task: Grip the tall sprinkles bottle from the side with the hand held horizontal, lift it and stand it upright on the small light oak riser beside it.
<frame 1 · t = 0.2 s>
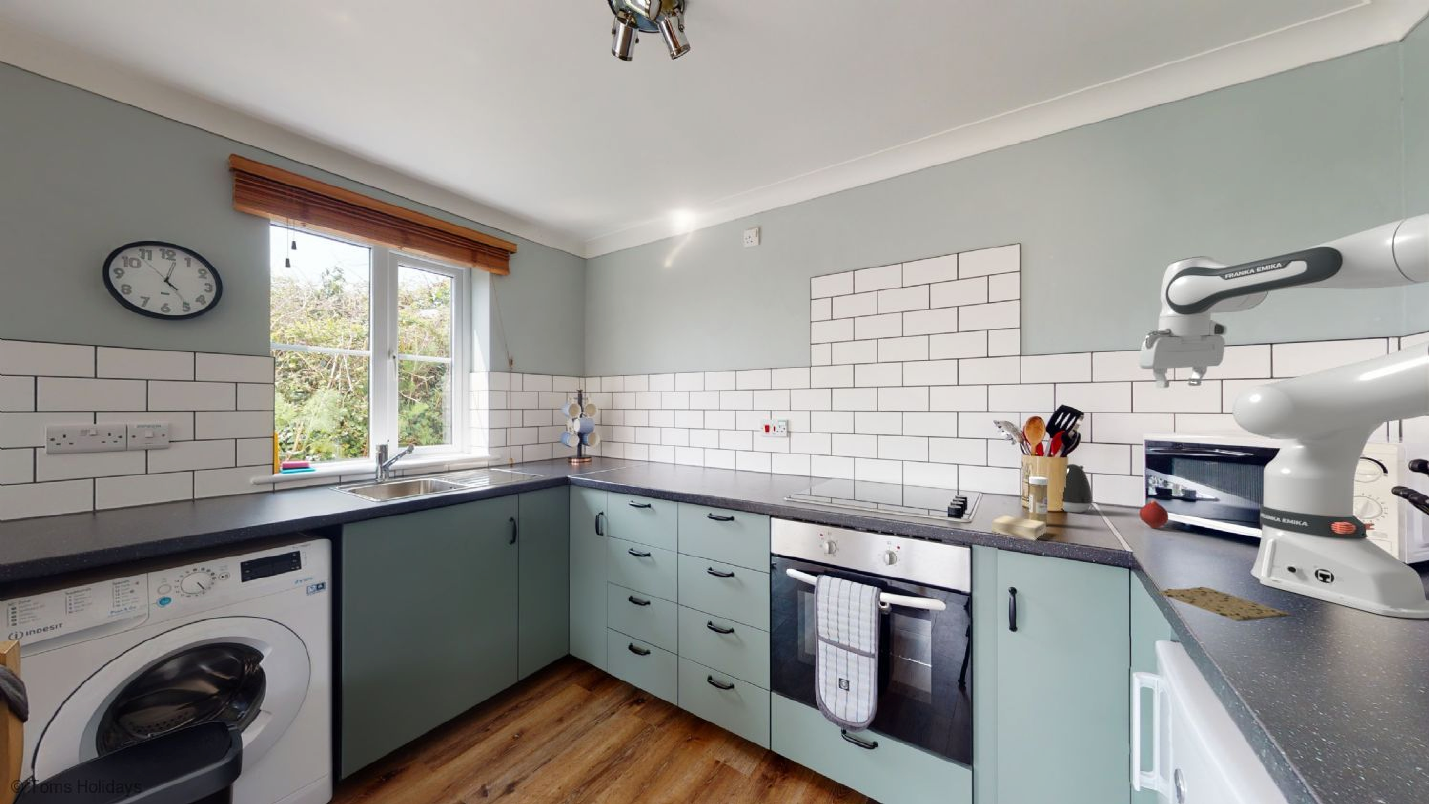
hand: (1178, 386, 117), 39 cm above the counter, tool pointing down, fingers open, 8 cm apart
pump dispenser: (1072, 511, 157), on the counter
oak riser: (1018, 532, 130), on the counter
sprinkles bottle: (1038, 524, 140), on the counter
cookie: (1221, 606, 85), on the counter
onion: (1153, 529, 136), on the counter
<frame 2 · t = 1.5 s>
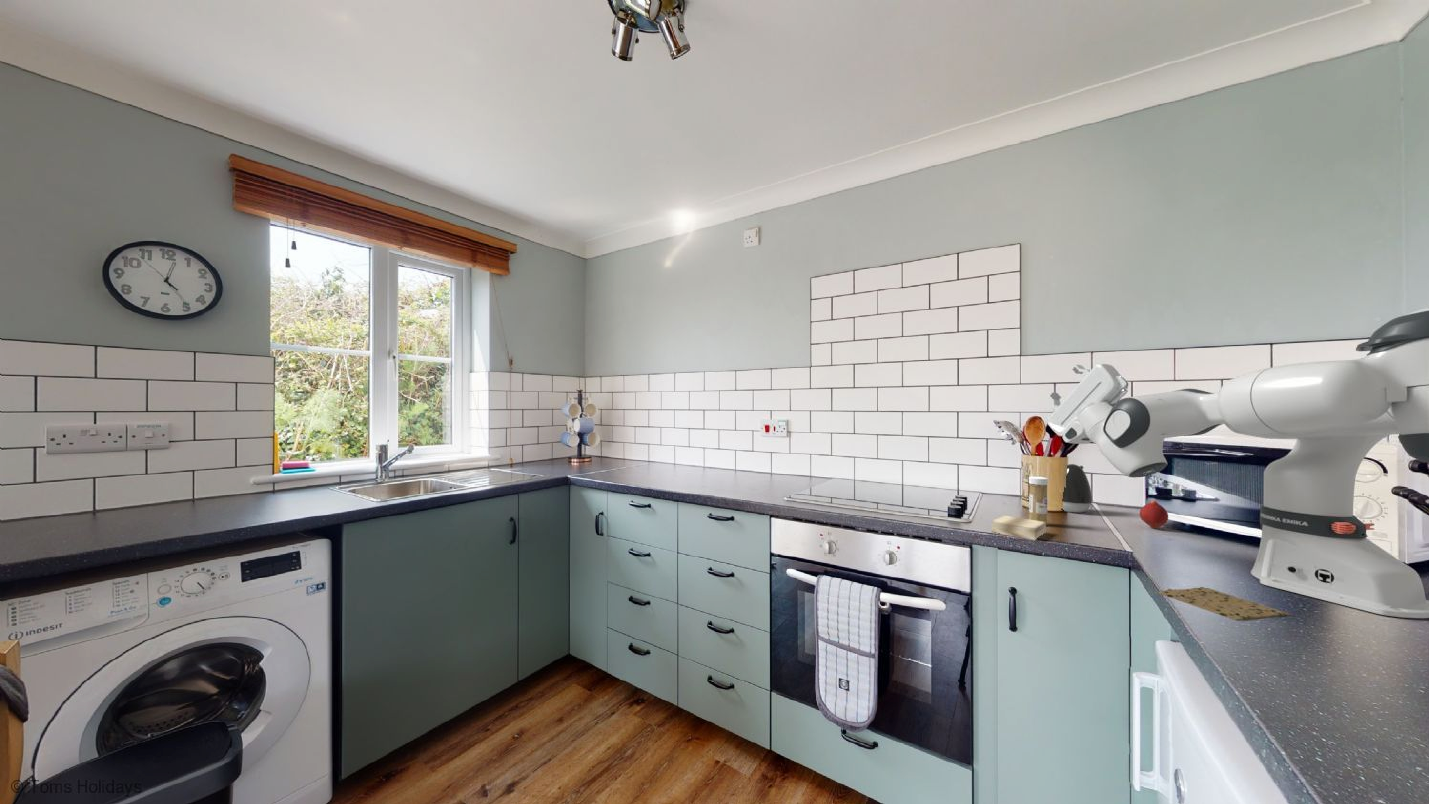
hand: (1064, 381, 126), 40 cm above the counter, tool pointing upward, fingers open, 8 cm apart
nothing on the counter moved.
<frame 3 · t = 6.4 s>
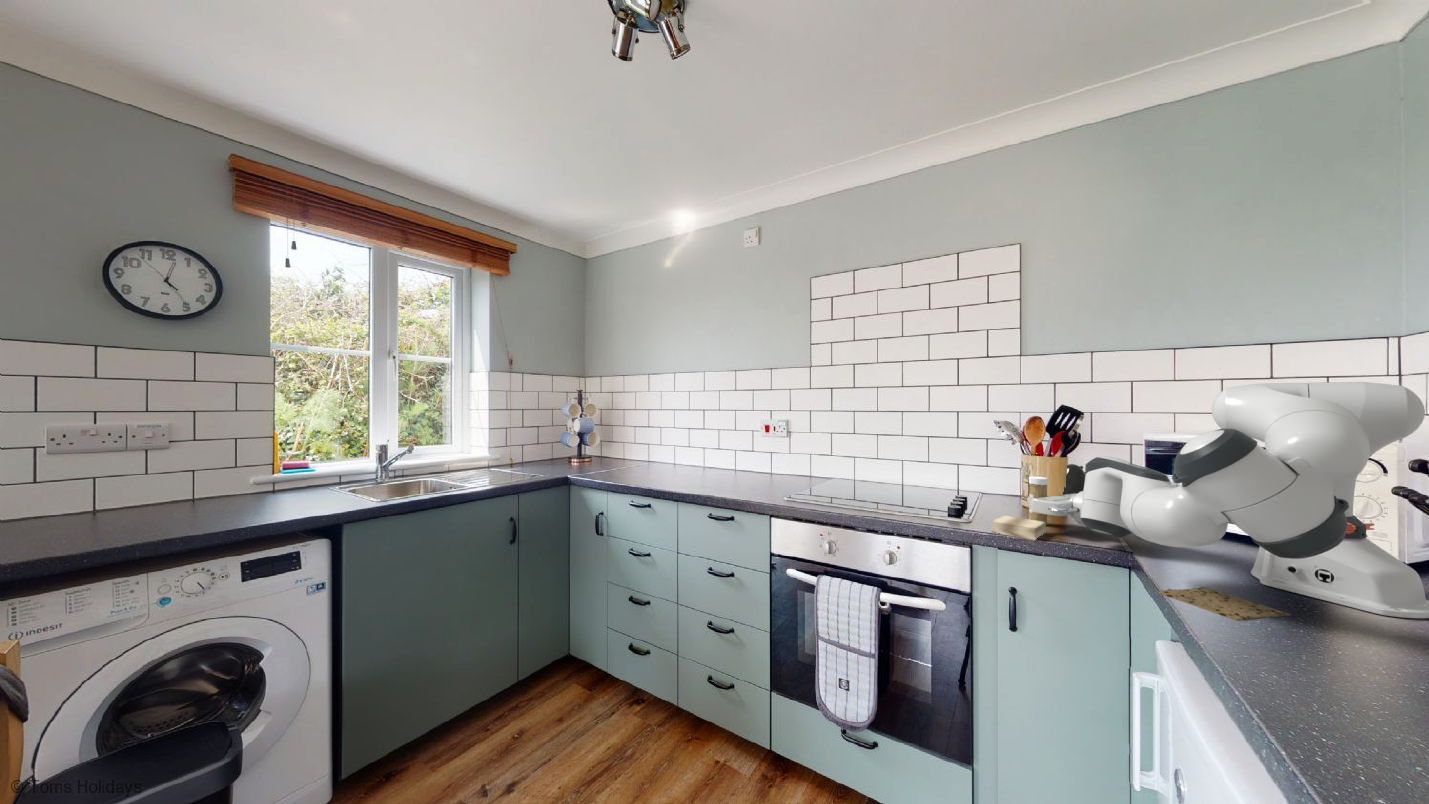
hand: (1035, 499, 140), 7 cm above the counter, tool horizontal, fingers closed on sprinkles bottle, 4 cm apart
sprinkles bottle: (1037, 524, 140), on the counter, touching gripper
everything else where it was.
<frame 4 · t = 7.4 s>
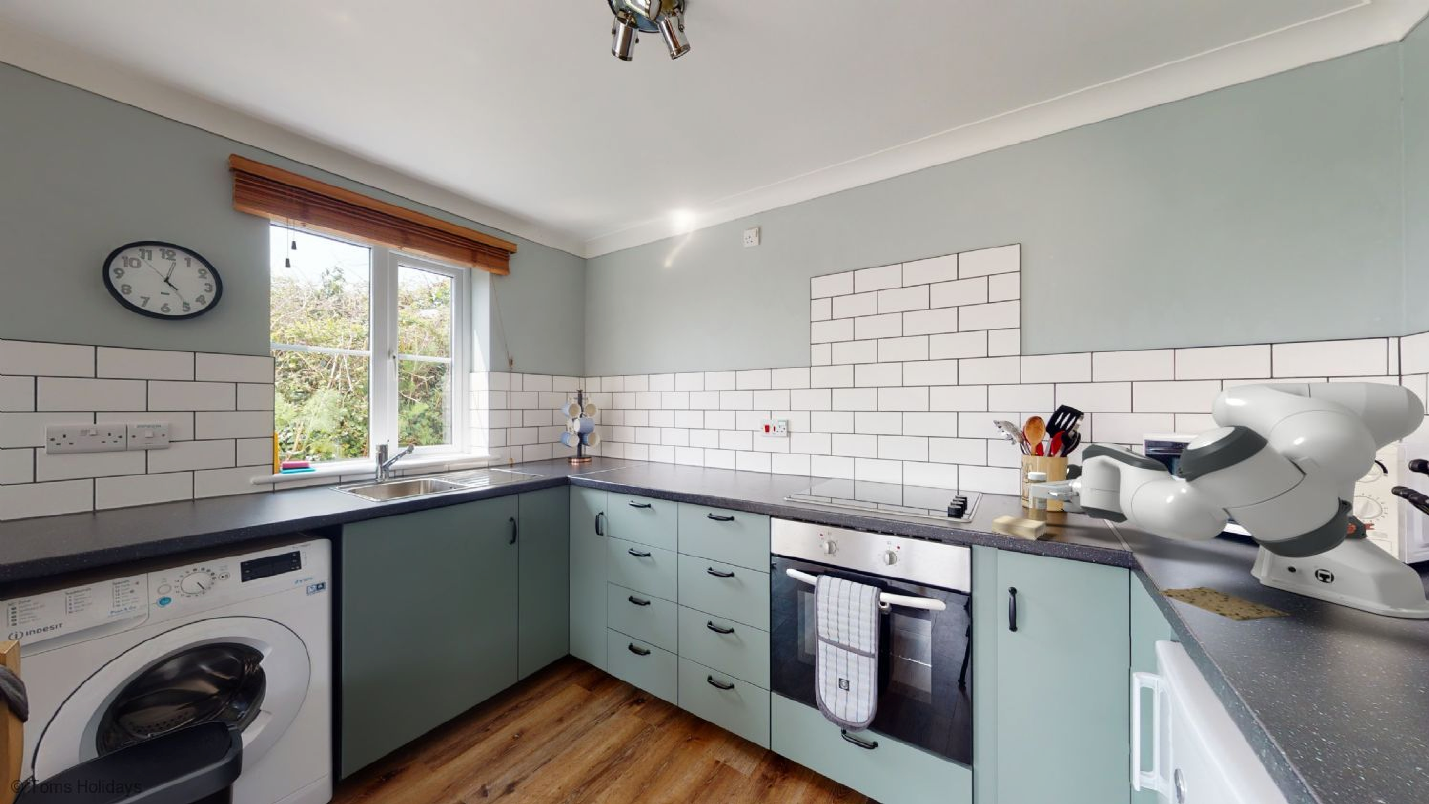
hand: (1034, 485, 141), 11 cm above the counter, tool horizontal, fingers closed on sprinkles bottle, 4 cm apart
sprinkles bottle: (1037, 520, 140), point 1 cm above the counter, touching gripper
everything else where it was.
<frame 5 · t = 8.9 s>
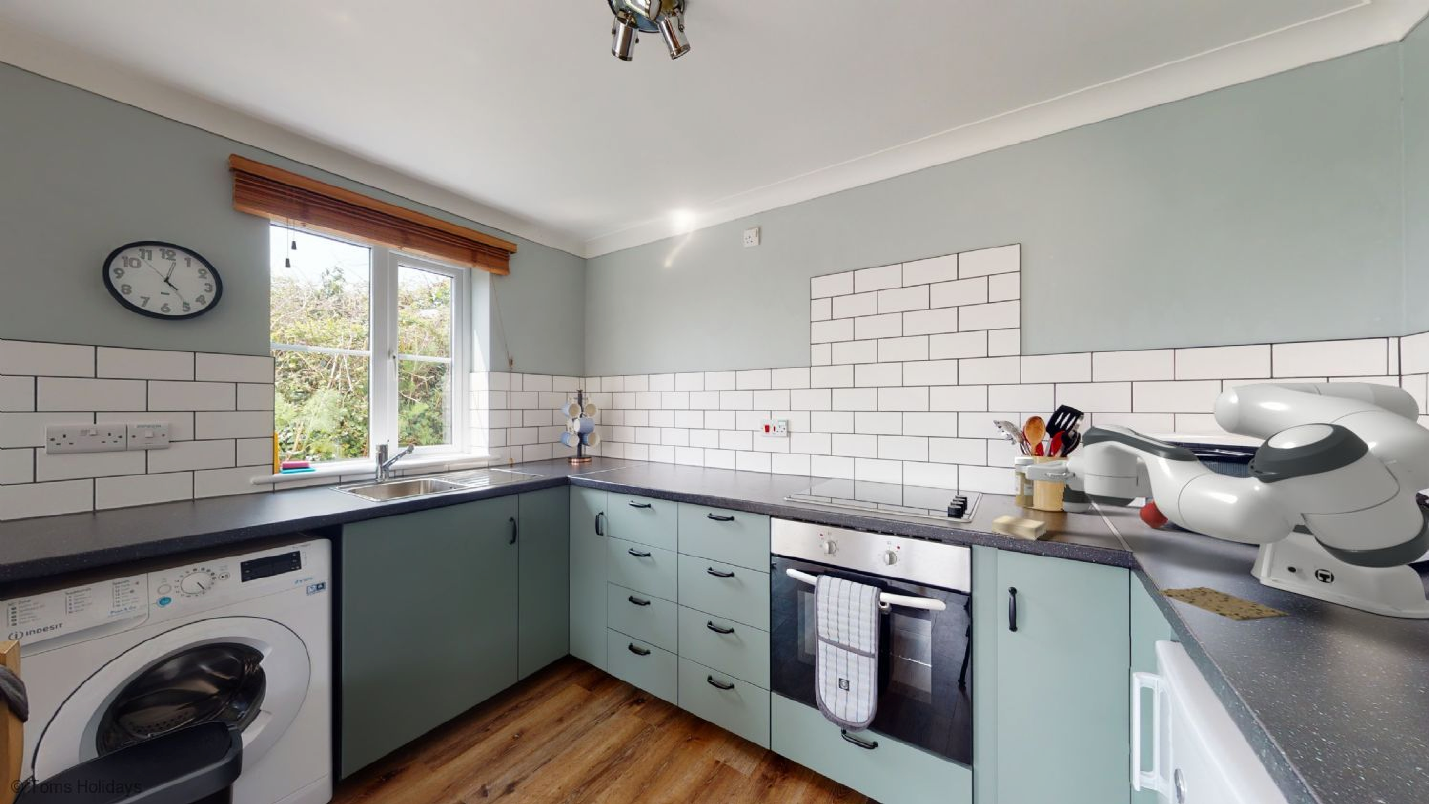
hand: (1020, 467, 134), 17 cm above the counter, tool horizontal, fingers closed on sprinkles bottle, 4 cm apart
sprinkles bottle: (1024, 506, 134), point 6 cm above the counter, touching gripper
everything else where it was.
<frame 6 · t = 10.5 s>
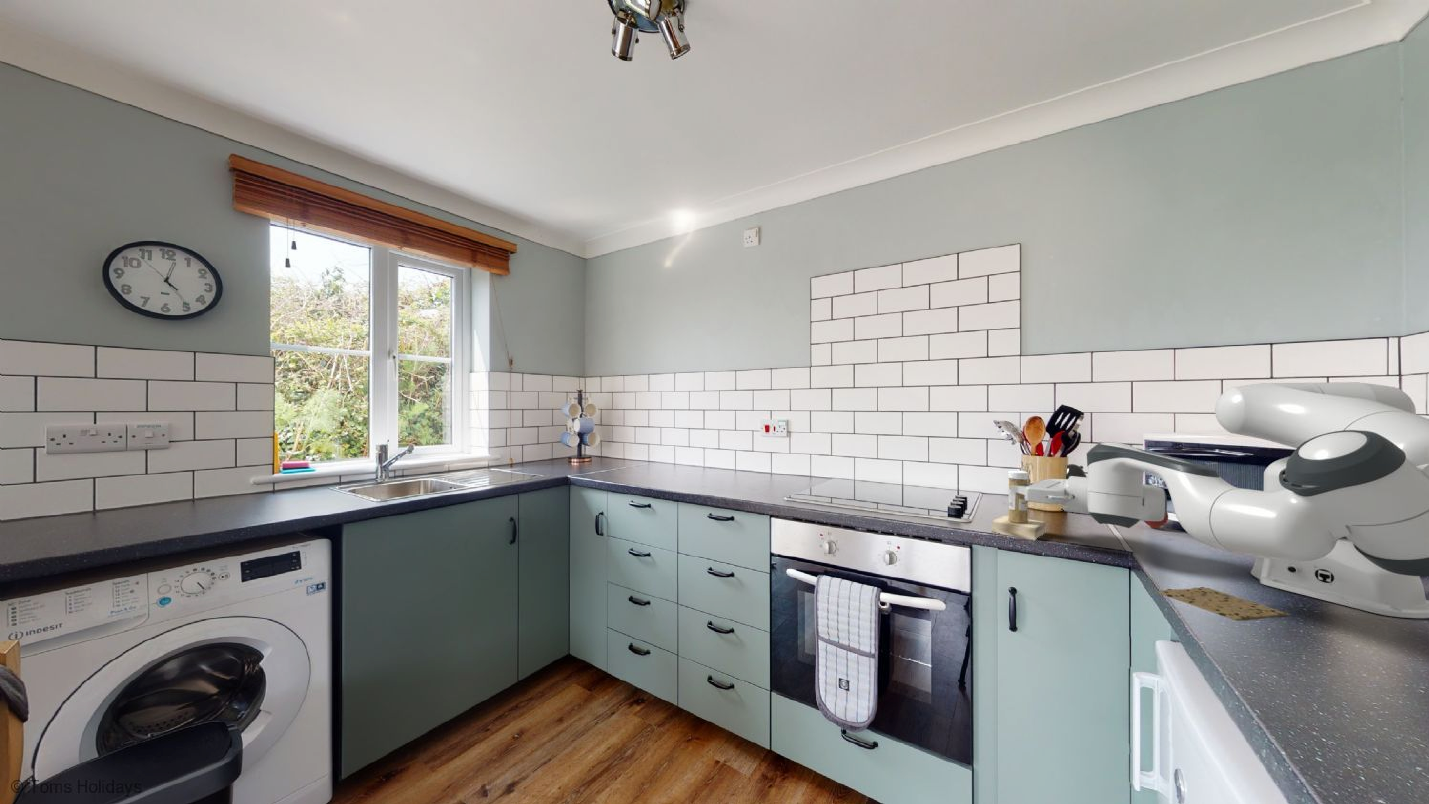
hand: (1014, 487, 130), 12 cm above the counter, tool horizontal, fingers closed on sprinkles bottle, 4 cm apart
sprinkles bottle: (1017, 522, 130), point 3 cm above the counter, touching gripper, oak riser
everything else where it was.
when the fingers open (12 cm above the counter, at t = 11.1 s): sprinkles bottle stays where it is, resting on oak riser.
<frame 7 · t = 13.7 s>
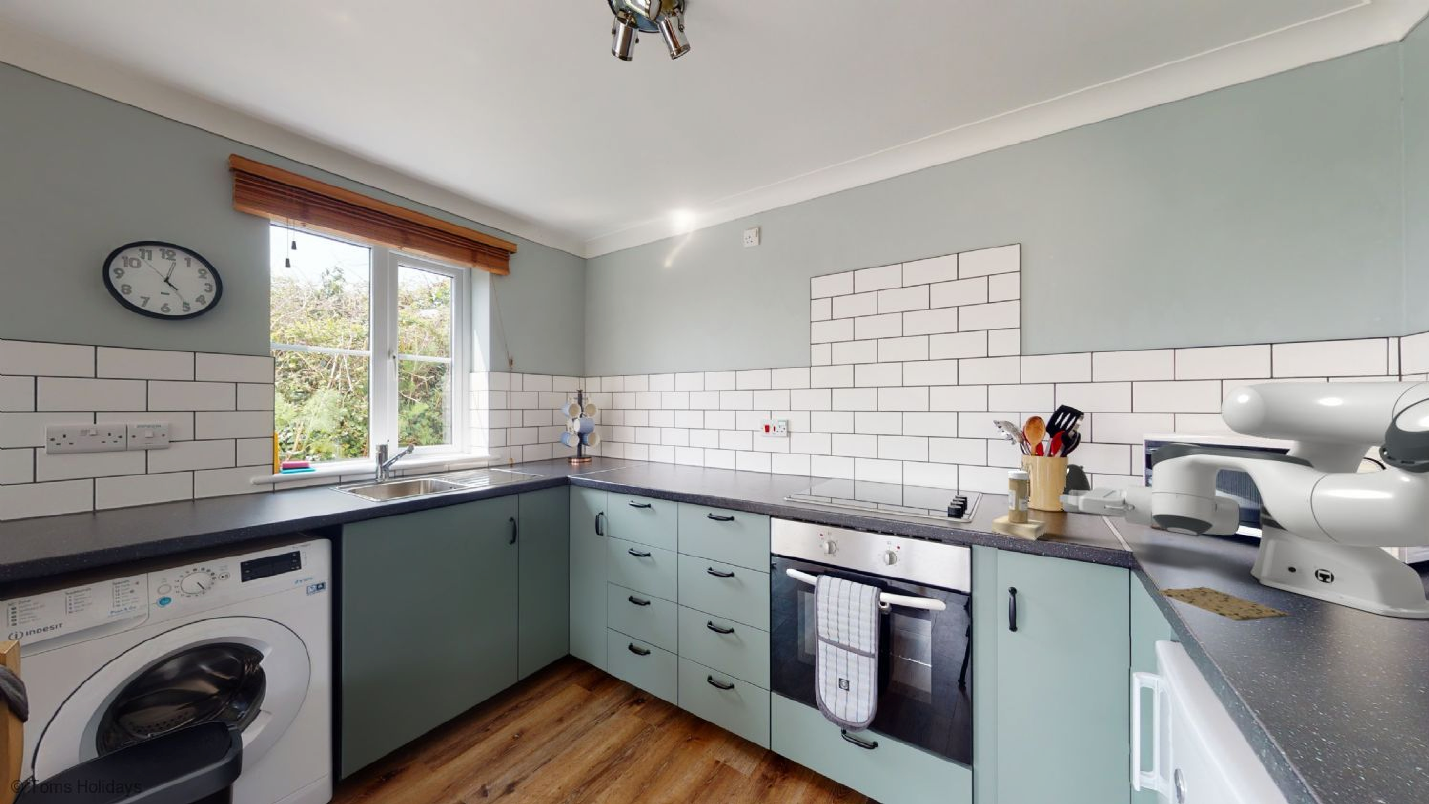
hand: (1064, 495, 123), 11 cm above the counter, tool horizontal, fingers open, 8 cm apart
sprinkles bottle: (1017, 522, 130), point 3 cm above the counter, touching oak riser
everything else where it was.
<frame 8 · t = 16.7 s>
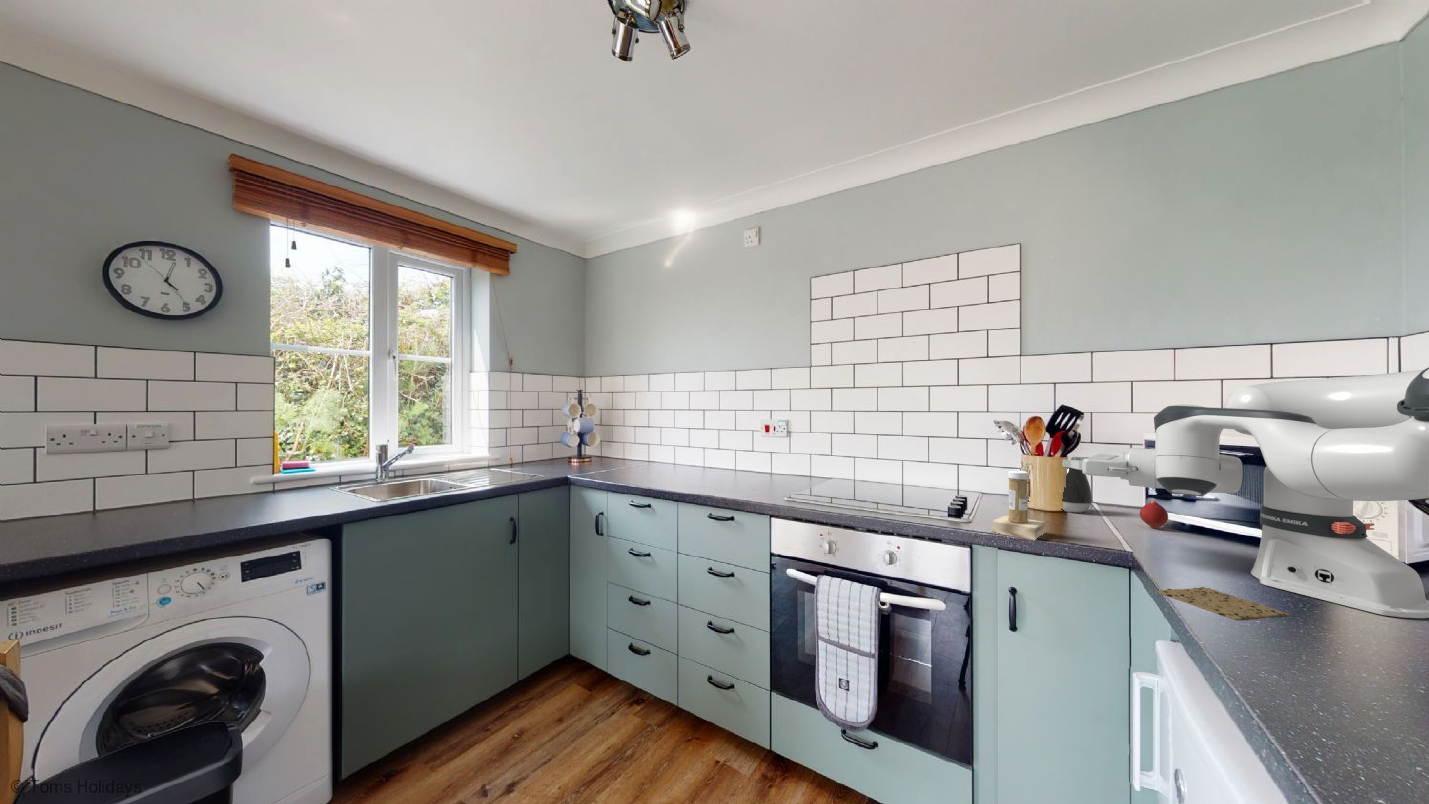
hand: (1067, 461, 123), 20 cm above the counter, tool horizontal, fingers open, 8 cm apart
nothing on the counter moved.
at the end: sprinkles bottle 0.2 cm off-centre on the oak riser, point 2.8 cm above the oak riser's base; sprinkles bottle tilted 0°; the gripper is holding nothing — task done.
